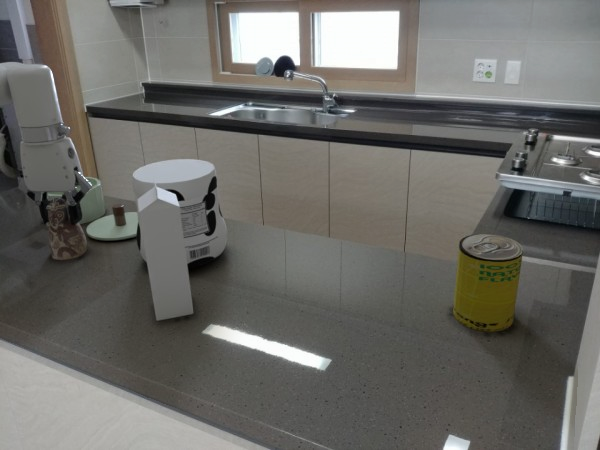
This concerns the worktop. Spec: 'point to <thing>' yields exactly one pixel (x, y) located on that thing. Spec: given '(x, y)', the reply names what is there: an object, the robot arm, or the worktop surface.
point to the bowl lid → (114, 225)
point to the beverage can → (487, 281)
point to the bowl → (88, 201)
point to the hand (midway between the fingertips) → (63, 221)
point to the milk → (165, 253)
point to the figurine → (64, 231)
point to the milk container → (188, 205)
